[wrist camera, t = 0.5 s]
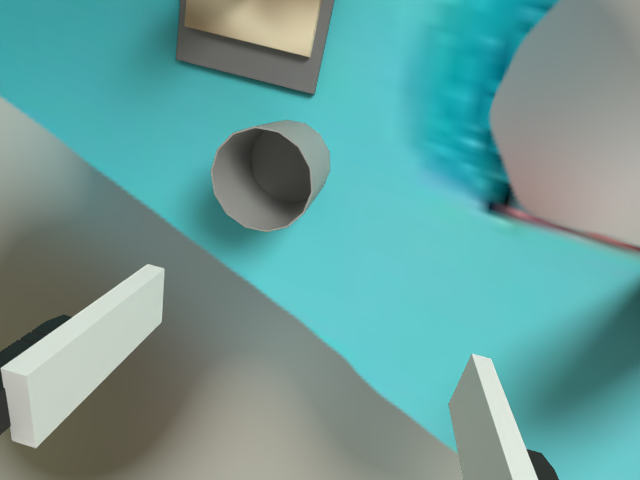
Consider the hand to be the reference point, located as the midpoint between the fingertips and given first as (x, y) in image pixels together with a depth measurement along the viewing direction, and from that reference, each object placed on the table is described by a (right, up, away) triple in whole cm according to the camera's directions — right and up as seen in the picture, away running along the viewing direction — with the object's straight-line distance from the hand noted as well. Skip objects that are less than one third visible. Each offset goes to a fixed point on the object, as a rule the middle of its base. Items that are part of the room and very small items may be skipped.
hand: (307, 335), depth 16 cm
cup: (-2, +12, +24) cm, 27 cm away
